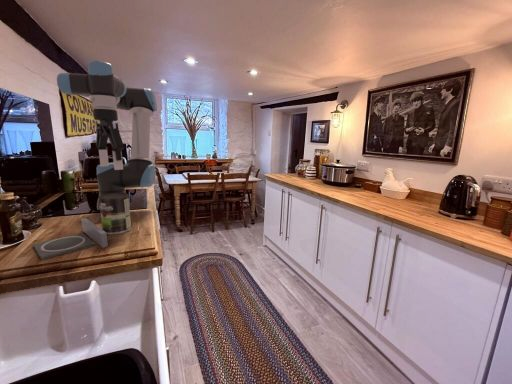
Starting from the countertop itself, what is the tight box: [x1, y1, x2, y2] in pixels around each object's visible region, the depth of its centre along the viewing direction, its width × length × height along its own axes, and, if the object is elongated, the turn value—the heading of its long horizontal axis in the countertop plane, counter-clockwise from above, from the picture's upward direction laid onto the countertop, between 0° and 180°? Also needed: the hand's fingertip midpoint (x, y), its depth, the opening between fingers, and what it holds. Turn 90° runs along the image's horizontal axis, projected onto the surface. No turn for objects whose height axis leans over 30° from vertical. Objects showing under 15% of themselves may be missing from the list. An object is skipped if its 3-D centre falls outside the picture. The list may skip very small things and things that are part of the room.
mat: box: [32, 232, 96, 261], centre depth 84 cm, size 14×14×1 cm
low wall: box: [80, 217, 109, 249], centre depth 91 cm, size 22×2×5 cm, turn 49°
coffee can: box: [97, 193, 132, 235], centre depth 98 cm, size 10×10×14 cm
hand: (111, 168), depth 94 cm, fingers open, 13 cm apart
